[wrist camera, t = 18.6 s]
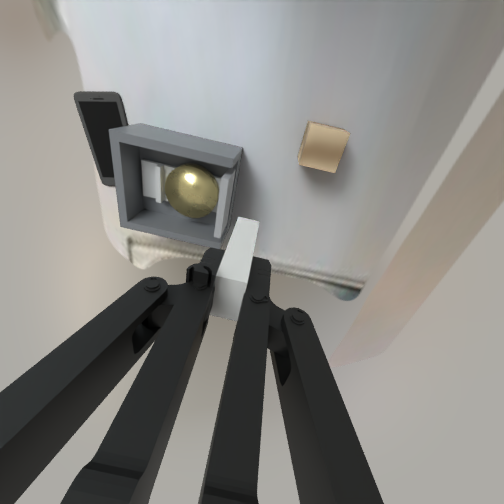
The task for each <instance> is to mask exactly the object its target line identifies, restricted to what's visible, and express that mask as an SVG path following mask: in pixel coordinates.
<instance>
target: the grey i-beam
mask: <svg viewBox="0 0 504 504" xmlns="http://www.w3.org/2000/svg"><path fill="white" fill-rule="evenodd" d="M141 164H142V181H143V196H147V197H152V198H156V202H158V203H162V202H163V201H168V199H167V197H166V194H165V181H166V178H167V176H168V175H169V173H170V172H171V171H172V170H174V169H175V168H177V167H175V166H171V165H167V164H162V163H158V162H154V161H150V160H145V159H143V160H141ZM235 171H236V169H232V168H229V169H228V170H227V171H226V172H225V174H224V175H223V176H222V177H218V176H214V177H215V179H216V181H217V183H218V186H219V199H218V202H217V204H216V206H215V207H214V209H213V210H212V212H216V213H217V215H216V223H215V231H214V237H216V238H221V236H222V233H223V231H224V229H225V227H226V225H227V221H228V215H229V209H230V202H231V196H232V190H233V183H234V177H235Z"/></svg>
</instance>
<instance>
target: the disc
mask: <svg viewBox="0 0 504 504" xmlns="http://www.w3.org/2000/svg"><path fill="white" fill-rule="evenodd" d="M165 194H166V197H167V199H168V201H169V203H170V204H171V206H172V207H173V208H174V209H175V210H176V211H177V212H179V213H180V214H182V215H184V216H186V217H190V218H201V217H204V216H206V215H208V214H209V213H210V212H211V211H212V210H213V209H214V207H215V206H216V204H217V202H218V199H219V186H218V183H217V181H216V179H215V177H214V176H213V175H212V173H211V172H210V171H208V170H207V169H206V168H204V167H202V166H200V165H197V164H193V163H188V164H183V165H180V166H179V167H177V168H175V169H174V170H172V171H171V172H170V173H169V175H168V176H167V178H166V181H165Z"/></svg>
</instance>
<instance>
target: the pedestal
mask: <svg viewBox="0 0 504 504" xmlns="http://www.w3.org/2000/svg"><path fill="white" fill-rule="evenodd" d="M349 136H350V133H349V132H347V131H345V130H344V129H341V128H337V127H333V126H329V125H324V124H320V123H316V122H312V121H308V123H307V126H306V130H305V133H304V136H303V140H302V143H301V147H300V150H299V154H298V162H299V165H302V166H307V167H311V168H315V169H319V170H324V171H328V172H332V173H335V172H336V169H337V167H338V164H339V161H340V159H341V156H342V154H343V151H344V149H345V146H346V143H347V141H348V138H349Z"/></svg>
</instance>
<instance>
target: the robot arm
mask: <svg viewBox="0 0 504 504" xmlns="http://www.w3.org/2000/svg"><path fill="white" fill-rule="evenodd" d="M259 222H260V221H255V220H251V219H247V218H242V217H238V219H237V222H236V224H235V227H234V230H233V232H232V235H231V238H230V240H229V243H228V245H227V248H226V251H225V250H221V249H216V248H212V247H211V248H210V249H208V250H207V251H205V253H204V255H203V258H202V259H201V262H200V263H198V264H193V265H191V266H189V267H188V268H187V274H186V283H184V284H179V285H168V284H167V282H166V281H165V280H164V279H162V278H160V277H148V278H145V279H143V280H141V281H140V282H138V283H137V284H136V285H135V286H133V287H132V288H131V289H130V290H128V291H127V292H126V293H125V294H124V295H122V296H121V297H120V298H118V299H117V300H116V301H115V302H113V303H112V304H111V305H110V306H108V307H107V308H106V309H105V310H103V311H102V312H101V313H99V314H98V315H97V316H96V317H95V318H93V319H92V320H91V321H89V322H88V323H87V324H86V325H84V326H83V327H82V328H81V329H79V330H78V331H77V332H76V333H74V334H73V335H72V336H71V337H69V338H68V339H67V340H66V341H64V342H63V343H62V344H61V345H59V346H58V347H57V348H55V349H54V350H53V351H52V352H51V353H49V354H48V355H47V356H46V357H44V358H43V359H42V360H40V361H39V362H38V363H37V364H36V365H34V366H33V367H32V368H30V369H29V370H28V371H27V372H25V373H24V374H23V375H22V376H20V377H19V378H18V379H17V380H15V381H14V382H13V383H12V384H10V385H9V386H8V387H6V388H5V389H4V390H3V391H1V392H0V504H14V503H15V502H16V501H17V500H18V498H19V497H20V496H21V495H22V494H23V493H24V492H25V490H26V489H27V488H28V487H29V486H30V485H31V483H32V482H33V481H34V480H35V479H36V478H37V476H38V475H39V474H40V473H41V472H42V471H43V470H44V468H45V467H46V466H47V465H48V464H49V463H50V462H51V460H52V459H53V458H54V457H55V456H56V454H57V453H58V452H59V451H60V450H61V449H62V448H63V446H64V445H65V444H66V443H67V442H68V441H69V439H70V438H71V437H72V436H73V435H74V434H75V433H76V431H77V430H78V429H79V428H80V427H81V426H82V424H83V423H84V422H85V421H86V420H87V419H88V417H89V416H90V415H91V414H92V413H93V412H94V411H95V409H96V408H97V407H98V406H99V405H100V403H101V402H102V401H103V400H104V399H105V398H106V397H107V396H108V394H109V393H110V392H111V391H112V390H113V389H114V387H115V386H116V385H117V384H118V383H119V382H120V380H121V379H122V378H123V377H124V376H125V375H126V374H127V372H128V371H129V370H130V369H131V368H132V366H133V365H134V364H135V363H136V362H137V361H138V360H139V358H140V357H141V356H142V355H143V354H144V353H145V351H146V350H147V349H148V348H149V347H150V346H151V345H152V343H153V342H154V341H155V342H154V344H153V346H152V348H151V350H150V352H149V354H148V356H147V358H146V359H145V361H144V363H143V365H142V367H141V369H140V371H139V373H138V375H137V377H136V379H135V380H134V382H133V384H132V386H131V388H130V390H129V392H128V394H127V396H126V397H125V399H124V401H123V403H122V405H121V407H120V409H119V411H118V413H117V415H116V417H115V418H114V420H113V422H112V424H111V426H110V428H109V430H108V432H107V434H106V436H105V437H104V439H103V441H102V443H101V445H100V447H99V449H98V451H97V453H96V454H95V456H94V457H93V459H92V460H91V461H90V462H89V463H88V464H87V465H85V466H84V467H83V468H82V470H81V471H80V472H79V473H78V475H77V476H76V478H75V479H74V481H73V482H72V484H71V486H70V487H69V489H68V491H67V493H66V494H65V496H64V498H63V500H62V502H61V504H148V503H149V499H150V495H151V492H152V489H153V486H154V483H155V479H156V477H157V474H158V471H159V468H160V465H161V462H162V459H163V456H164V453H165V450H166V447H167V444H168V441H169V438H170V435H171V432H172V429H173V426H174V423H175V420H176V417H177V414H178V411H179V408H180V405H181V402H182V399H183V396H184V393H185V390H186V387H187V384H188V381H189V378H190V375H191V372H192V369H193V366H194V363H195V360H196V357H197V354H198V351H199V348H200V345H201V342H202V339H203V336H204V333H205V330H206V327H207V324H208V318H209V315H212V316H216V317H221V318H225V319H230V320H234V321H237V325H236V329H235V333H234V337H233V343H232V348H231V352H230V357H229V362H228V366H227V371H226V376H225V381H224V385H223V390H222V394H221V399H220V404H219V408H218V413H217V418H216V422H215V427H214V432H213V436H212V441H211V446H210V451H209V455H208V460H207V465H206V469H205V474H204V478H203V483H202V488H201V493H200V497H199V502H198V504H259V503H258V499H257V482H258V468H259V467H258V466H259V454H260V440H261V426H262V412H263V399H264V385H265V371H266V357H267V348H268V349H270V353H271V358H272V364H273V369H274V373H275V378H276V384H277V389H278V393H279V399H280V404H281V409H282V414H283V419H284V424H285V429H286V434H287V439H288V444H289V449H290V454H291V460H292V464H293V470H294V475H295V479H296V485H297V490H298V495H299V500H300V504H384V503H383V500H382V498H381V495H380V493H379V490H378V488H377V485H376V483H375V480H374V478H373V475H372V473H371V470H370V467H369V465H368V462H367V460H366V457H365V455H364V452H363V450H362V447H361V445H360V442H359V440H358V437H357V435H356V432H355V429H354V427H353V425H352V422H351V419H350V417H349V414H348V412H347V409H346V407H345V404H344V402H343V399H342V397H341V394H340V391H339V389H338V386H337V384H336V381H335V379H334V377H333V374H332V371H331V369H330V366H329V364H328V361H327V359H326V356H325V354H324V351H323V349H322V346H321V344H320V341H319V338H318V336H317V333H316V331H315V329H314V326H313V323H312V321H311V318H310V317H309V315H308V314H307V313H306V312H305V311H303V310H301V309H299V308H289V309H287V310H283V309H281V308H279V307H277V306H276V305H275V304H274V303H273V302H272V301H271V300H270V297H269V289H270V275H271V264H270V262H269V260H266V259H262V258H258V257H253V252H254V247H255V242H256V237H257V232H258V227H259Z"/></svg>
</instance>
